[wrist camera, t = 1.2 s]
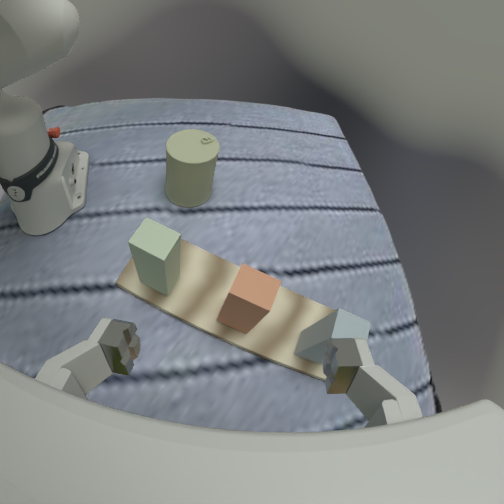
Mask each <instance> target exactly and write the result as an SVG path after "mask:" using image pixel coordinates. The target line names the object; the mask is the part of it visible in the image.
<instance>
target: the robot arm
mask: <svg viewBox="0 0 504 504" xmlns="http://www.w3.org/2000/svg"><path fill="white" fill-rule="evenodd" d="M79 26H80V20H79V15H78V12H77V10H76V8H75V7H74V5H73V4H72V3H70V2H69V1H68V0H0V184H1V186H2V188H3V189H4V191H5V192H6V193H7V196H8V198H9V201H10V203H11V209H12V211H13V212H14V213H15V215H16V217H17V220H18V224H19V226H20V228H21V229H22V230H23V231H24V232H25V233H27V234H30V235H42V234H46V233H48V232H51V231H53V230H54V229H56V228H57V227H59V226H60V225H61V224H62V223H63V222H64V221H65V220H66V219H67V218H68V217H69V216H70V215H71V214H73V213H74V212H76V211H78V210H80V209H81V208H83V207H84V205H85V202H86V188H87V177H88V167H89V155H88V153H86V152H83V151H79V150H77V149H76V147H75V145H74V144H72V143H70V142H67V141H53V139H52V138H58V137H59V136H60V128H59V127H56V128H50V129H49V132H47V129H46V125H45V122H44V118H43V114H42V110H41V107H40V106H39V104H38V103H37V102H36V101H34V100H33V99H31V98H29V97H25V96H12V95H9V94H7V93H5V92H4V91H3V90H2V88H4V87H6V86H8V85H10V84H12V83H14V82H17V81H19V80H21V79H23V78H26V77H28V76H30V75H33V74H35V73H38V72H39V71H41V70H43V69H45V68H47V67H48V66H50V65H52V64H54V63H55V62H57V61H59V60H61V59H63V58H64V57H66V56H67V55H68V53H69V52H70V51H71V49H72V47H73V46H74V44H75V41H76V39H77V37H78V33H79ZM79 198H80V199H79ZM136 330H137V328H136V325H135V324H134V323H132V322H127V321H121V320H116V319H110V318H106V317H104V318H102V319H101V321H100V322H99V324H98V325H97V326H96V328H95V330H94V331H93V333H92V334H91V336H90V337H89V339H88V340H87V341H86V340H84V341H82V342H80V343H78V344H76V345H75V346H73V347H71V348H69V349H67V350H65V351H64V352H62V353H60V354H58V355H56V356H54V357H52V358H51V359H49V360H47V361H46V362H45V364H44V365H43V367H42V368H41V370H40V371H39V373H38V374H37V376H36V378H35V379H33V378H31V377H29V376H27V375H25V374H23V373H21V372H19V371H17V370H15V369H13V368H11V367H9V366H7V365H6V364H4V363H2V362H0V504H504V410H503V409H502V408H500V407H499V406H498V405H496V404H495V403H493V402H491V401H490V400H487V399H483V400H480V401H477V402H474V403H471V404H468V405H465V406H462V407H459V408H455V409H453V410H449V411H445V412H442V413H438V414H434V415H430V416H426V417H423V416H422V413H421V410H420V407H419V404H418V402H417V399H416V396H415V395H414V394H413V393H412V392H411V391H409V390H408V389H407V388H406V387H404V386H403V385H402V384H401V383H399V382H398V381H397V380H396V379H394V378H393V377H392V376H391V375H390V374H388V373H387V372H386V371H385V370H383V369H382V368H381V367H380V366H378V365H375V364H374V361H373V358H372V356H371V353H370V350H369V347H368V345H367V342H366V339H365V338H364V337H363V338H330V339H329V341H328V344H327V347H328V350H327V351H326V352H325V353H324V357H323V373H324V374H325V375H326V376H327V377H326V380H325V385H326V391H327V394H344V393H346V395H347V396H348V397H349V398H350V400H351V401H352V402H353V403H354V404H355V405H356V406H357V408H358V409H359V410H360V411H361V412H362V413H363V415H364V416H365V417H366V418H367V419H368V420H369V422H368V423H367V425H366V426H365V427H364V428H358V429H349V430H338V431H324V432H297V433H277V432H250V431H235V430H224V429H215V428H207V427H199V426H192V425H186V424H180V423H174V422H169V421H164V420H159V419H154V418H149V417H145V416H141V415H137V414H133V413H129V412H125V411H121V410H118V409H114V408H111V407H107V406H104V405H101V404H98V403H95V402H92V401H89V400H88V398H87V397H86V394H87V393H88V392H90V391H91V390H92V389H93V388H95V387H96V386H97V385H98V384H100V383H101V382H102V381H103V380H105V379H106V378H107V377H108V376H110V375H111V374H112V372H113V373H118V374H123V375H128V376H129V375H130V373H131V370H132V368H133V366H134V363H133V360H134V359H136V358H137V357H138V355H139V352H140V339H139V337H138V336H137V335H136V334H135V332H136Z"/></svg>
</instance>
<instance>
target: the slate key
mask: <svg viewBox="0 0 504 504" xmlns="http://www.w3.org/2000/svg"><path fill="white" fill-rule="evenodd" d="M370 323H371V322H369V321H367V320H365V319H362V318H360V317H358V316H356V315H353V314H351V313H349V312H347V311H345V310H342V309H340V308H338V309H337V310H335V311H334V312H332V313H330V314H329V315H327V316H326V317H324V318H322V319H321V320H319V321H317V322H316V323H314V324H313V325H311V326H309V327H308V328H306V329H304V330H303V331H301V334H300V337H299V340H298V343H297V346H296V349H295V352H294V354H295V355H297V356H300V357H302V358H305V359H308V360H310V361H313V362H315V363H318V364H321V365H322V364H323V357H324V353H325V352H326V351H327V350H328V347H327V344H328V341H329V339H330V338H363V337H364V338H365V339H366V342H367V338H368V333H369V328H370Z"/></svg>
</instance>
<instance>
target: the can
mask: <svg viewBox="0 0 504 504" xmlns="http://www.w3.org/2000/svg"><path fill="white" fill-rule="evenodd" d="M219 150H220V145H219V142H218V141H217V139H216V138H215V137H214V136H213V135H211V134H209V133H207V132H205V131H201V130H195V129H188V130H182V131H179V132H177V133H175V134H173V135H172V136H171V137H170V138H169V139H168V140H167V143H166V186H165V192H166V195H167V197H168V198H169V200H170V201H171V202H173V203H174V204H176V205H178V206H182V207H196V206H199V205H201V204H203V203H204V202H206V201H207V200H208V199H209V197H210V195H211V191H212V188H211V187H212V181H213V176H214V171H215V166H216V161H217V157H218V153H219Z"/></svg>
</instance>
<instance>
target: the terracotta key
mask: <svg viewBox="0 0 504 504" xmlns="http://www.w3.org/2000/svg"><path fill="white" fill-rule="evenodd" d="M280 284H281V281H280V280H277V279H275V278H273V277H271V276H269V275H267V274H264V273H262V272H260V271H258V270H256V269H254V268H252V267H249V266H247V265H245V264H243V263H242V265H241V267H240V269H239V271H238V274H237V276H236V278H235V280H234V282H233V284H232V286H231V288H230V291H229V293H228V295H227V297H226V299H225V301H224V304H223V306H222V308H221V310H220V312H219V315H218V317H217V319H216V320H217V321H219V322H221V323H223V324H225V325H227V326H230V327H232V328H234V329H236V330H238V331H241V332H243V333H245V334H247V333H248V332H249V331H250V330H251V329H252V328H254V327H255V326H256V325H257V324H258V323H259V322H260V321H261V320H262V319H263V318H264V317H265V316H266V315H267V314H268V313H269V312H270V310H271V308H272V305H273V302H274V300H275V297H276V295H277V292H278V289H279V287H280Z"/></svg>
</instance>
